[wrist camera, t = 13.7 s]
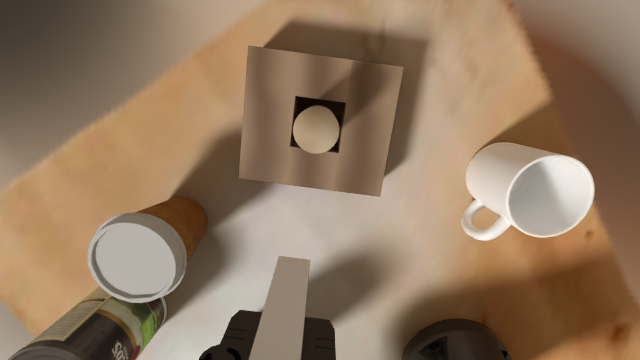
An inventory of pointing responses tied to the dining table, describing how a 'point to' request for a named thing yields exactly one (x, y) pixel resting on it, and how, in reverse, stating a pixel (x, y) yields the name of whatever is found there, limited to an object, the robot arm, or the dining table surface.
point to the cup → (527, 190)
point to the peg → (316, 129)
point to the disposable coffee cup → (146, 249)
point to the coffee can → (98, 330)
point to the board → (281, 112)
